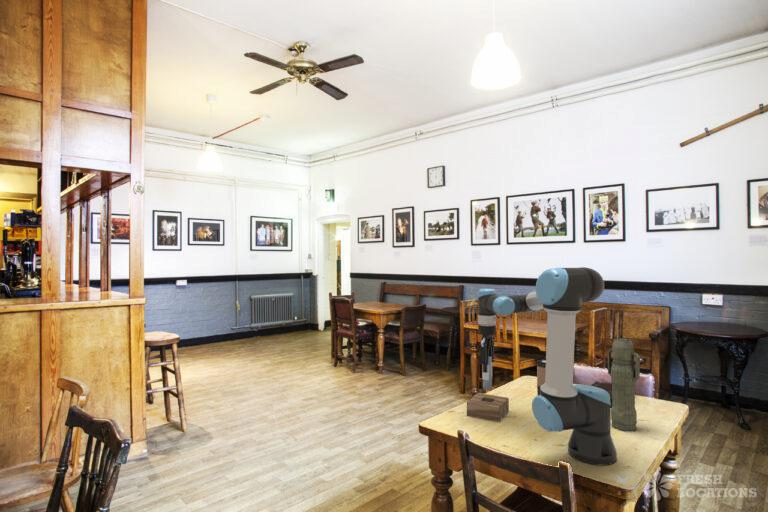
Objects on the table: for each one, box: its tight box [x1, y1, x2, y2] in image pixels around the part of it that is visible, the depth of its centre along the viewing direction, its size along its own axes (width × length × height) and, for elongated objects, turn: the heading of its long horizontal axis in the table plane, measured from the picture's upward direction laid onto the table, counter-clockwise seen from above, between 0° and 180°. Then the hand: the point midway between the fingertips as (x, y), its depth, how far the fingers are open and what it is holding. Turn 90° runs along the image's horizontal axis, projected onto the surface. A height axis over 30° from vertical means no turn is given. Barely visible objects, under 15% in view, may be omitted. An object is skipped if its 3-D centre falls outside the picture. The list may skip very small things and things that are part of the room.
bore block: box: [466, 392, 510, 423], centre depth 187 cm, size 14×14×6 cm
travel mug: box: [536, 358, 546, 396], centre depth 198 cm, size 8×8×20 cm
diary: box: [590, 380, 612, 408], centre depth 204 cm, size 19×25×5 cm
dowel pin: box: [482, 356, 493, 391], centre depth 187 cm, size 4×4×14 cm
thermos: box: [606, 337, 641, 432], centre depth 171 cm, size 9×12×35 cm
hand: (487, 378), depth 187 cm, fingers closed on dowel pin, 3 cm apart
